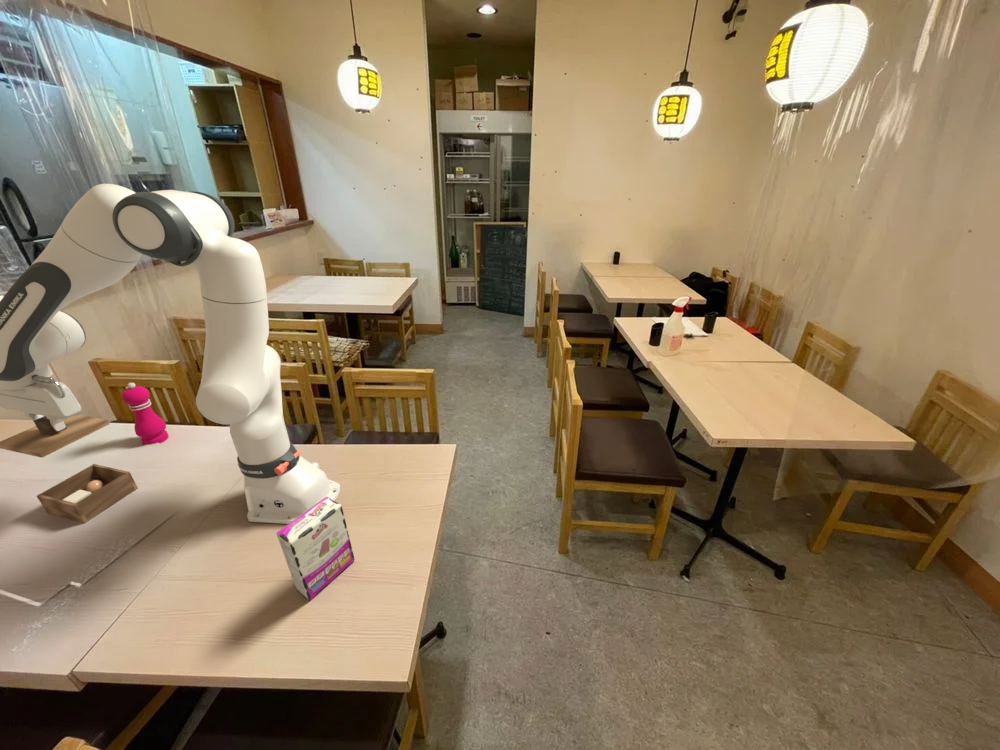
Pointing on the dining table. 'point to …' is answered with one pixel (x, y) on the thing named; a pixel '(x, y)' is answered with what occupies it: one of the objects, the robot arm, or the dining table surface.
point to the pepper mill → (144, 415)
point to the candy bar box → (316, 547)
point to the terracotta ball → (94, 486)
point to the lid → (52, 435)
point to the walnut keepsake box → (97, 502)
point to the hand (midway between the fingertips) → (52, 427)
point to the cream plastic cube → (77, 496)
